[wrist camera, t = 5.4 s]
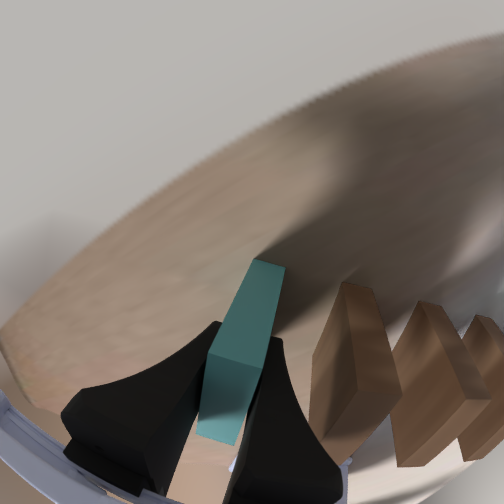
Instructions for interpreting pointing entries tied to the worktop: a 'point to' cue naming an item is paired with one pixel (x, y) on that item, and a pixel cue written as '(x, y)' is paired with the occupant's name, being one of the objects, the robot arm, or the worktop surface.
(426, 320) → the domino
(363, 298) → the domino
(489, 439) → the domino
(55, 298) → the worktop surface
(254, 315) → the domino
